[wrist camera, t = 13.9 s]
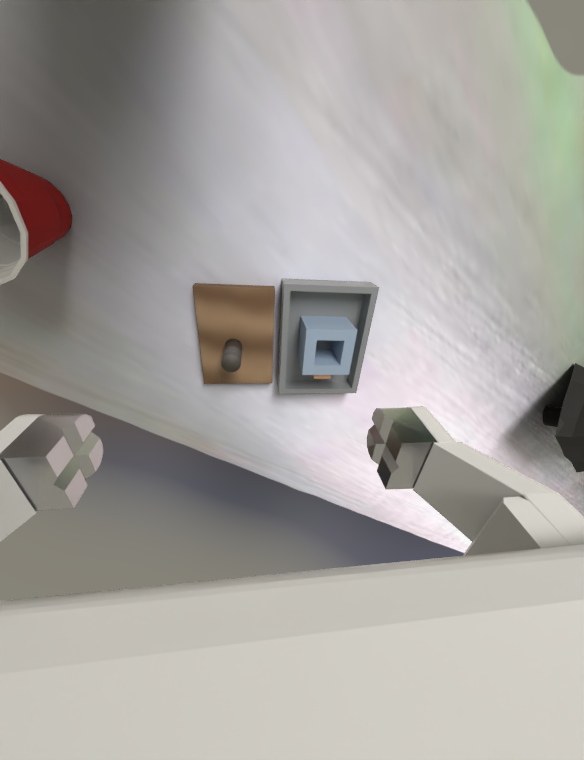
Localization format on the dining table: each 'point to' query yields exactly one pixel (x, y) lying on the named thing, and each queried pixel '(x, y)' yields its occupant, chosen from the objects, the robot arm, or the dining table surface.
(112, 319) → the dining table surface
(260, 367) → the board
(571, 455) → the decorative tree
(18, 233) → the plastic cup
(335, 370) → the collar
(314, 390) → the tray
